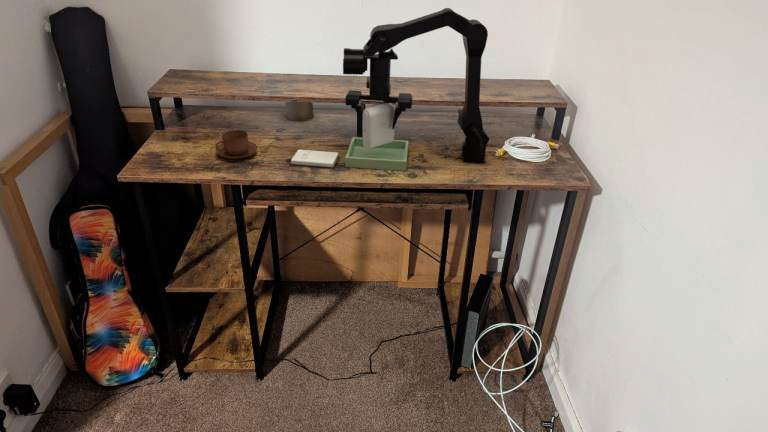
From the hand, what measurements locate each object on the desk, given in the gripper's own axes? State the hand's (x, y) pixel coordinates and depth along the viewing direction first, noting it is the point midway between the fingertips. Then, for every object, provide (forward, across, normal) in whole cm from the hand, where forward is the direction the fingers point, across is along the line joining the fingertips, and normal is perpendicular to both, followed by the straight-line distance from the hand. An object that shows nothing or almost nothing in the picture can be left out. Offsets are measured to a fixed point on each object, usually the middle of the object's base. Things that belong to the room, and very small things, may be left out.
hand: (378, 127), depth 150 cm
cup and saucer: (+10, +42, +4) cm, 43 cm away
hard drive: (+10, +18, +5) cm, 21 cm away
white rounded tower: (+5, 0, 0) cm, 5 cm away
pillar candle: (+10, +31, -31) cm, 45 cm away
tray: (+10, 0, 0) cm, 10 cm away
